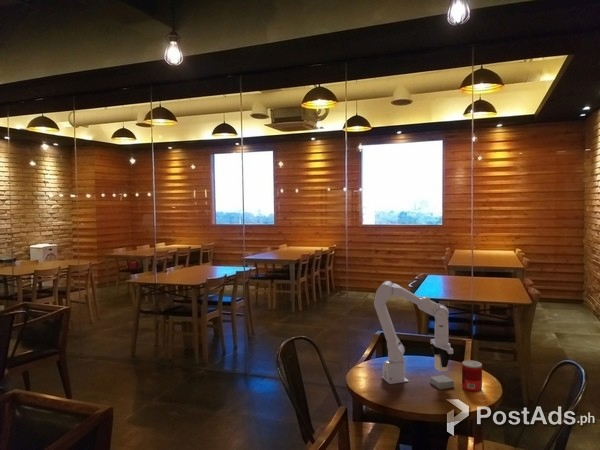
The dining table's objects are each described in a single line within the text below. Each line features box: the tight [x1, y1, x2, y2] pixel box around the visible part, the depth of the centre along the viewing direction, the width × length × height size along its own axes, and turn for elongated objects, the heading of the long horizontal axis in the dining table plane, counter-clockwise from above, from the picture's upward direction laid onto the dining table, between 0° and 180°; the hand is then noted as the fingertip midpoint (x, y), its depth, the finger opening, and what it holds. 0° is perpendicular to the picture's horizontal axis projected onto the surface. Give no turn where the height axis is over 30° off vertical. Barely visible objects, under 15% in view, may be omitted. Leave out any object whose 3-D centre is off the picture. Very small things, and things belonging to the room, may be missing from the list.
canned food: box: [461, 359, 483, 393], centre depth 187 cm, size 8×8×11 cm
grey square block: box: [429, 374, 455, 390], centre depth 192 cm, size 7×7×3 cm
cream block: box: [434, 354, 449, 373], centre depth 191 cm, size 4×4×6 cm
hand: (441, 365), depth 191 cm, fingers closed on cream block, 4 cm apart
